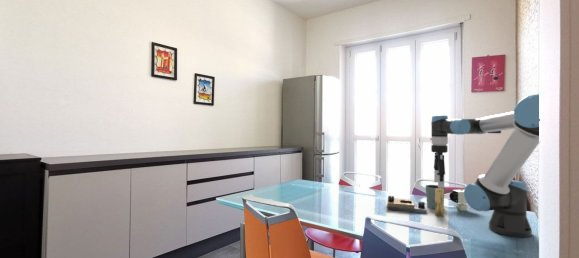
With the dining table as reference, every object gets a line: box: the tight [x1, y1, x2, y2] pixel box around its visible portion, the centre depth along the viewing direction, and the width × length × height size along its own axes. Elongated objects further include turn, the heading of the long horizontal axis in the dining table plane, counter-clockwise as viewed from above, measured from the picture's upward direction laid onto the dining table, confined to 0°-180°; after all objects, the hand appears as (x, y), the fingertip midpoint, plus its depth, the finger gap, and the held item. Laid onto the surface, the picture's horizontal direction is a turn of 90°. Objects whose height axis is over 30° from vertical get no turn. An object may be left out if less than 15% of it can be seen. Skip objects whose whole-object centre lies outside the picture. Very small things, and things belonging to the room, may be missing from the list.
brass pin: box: [434, 188, 445, 218], centre depth 147 cm, size 4×4×14 cm
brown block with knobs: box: [386, 195, 428, 215], centre depth 160 cm, size 12×20×6 cm, turn 70°
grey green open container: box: [425, 184, 446, 210], centre depth 163 cm, size 10×10×12 cm
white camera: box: [449, 188, 468, 212], centre depth 157 cm, size 6×12×12 cm, turn 94°
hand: (439, 184), depth 148 cm, fingers open, 13 cm apart
